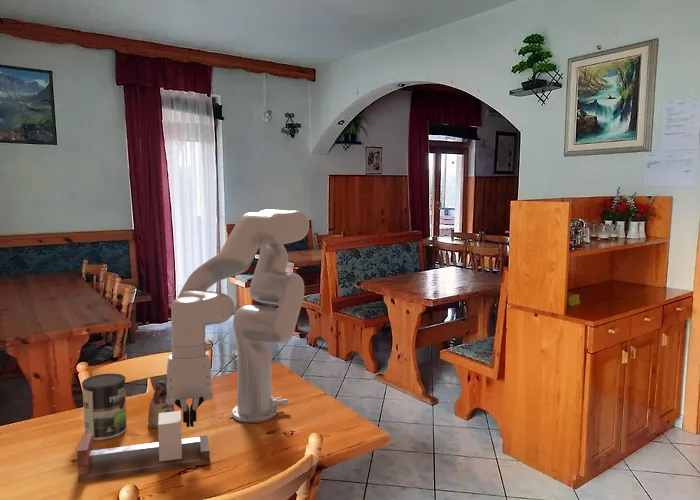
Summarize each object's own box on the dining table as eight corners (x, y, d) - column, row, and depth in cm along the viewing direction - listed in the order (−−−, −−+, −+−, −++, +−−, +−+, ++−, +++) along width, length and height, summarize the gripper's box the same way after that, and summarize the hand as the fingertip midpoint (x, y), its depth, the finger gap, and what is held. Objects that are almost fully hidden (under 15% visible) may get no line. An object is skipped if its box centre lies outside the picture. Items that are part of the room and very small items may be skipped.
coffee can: (135, 424, 144) (133, 374, 142) (110, 442, 134) (108, 389, 132) (101, 420, 146) (99, 371, 144) (75, 438, 136) (72, 385, 134)
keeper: (181, 445, 130) (180, 410, 129) (181, 458, 124) (181, 422, 123) (159, 448, 128) (158, 413, 127) (159, 461, 122) (158, 424, 121)
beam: (199, 448, 129) (199, 436, 129) (200, 453, 127) (200, 441, 127) (91, 463, 122) (90, 450, 121) (89, 468, 120) (89, 455, 119)
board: (207, 445, 133) (207, 419, 132) (210, 463, 125) (209, 435, 124) (84, 462, 124) (83, 433, 124) (77, 482, 116) (76, 452, 115)
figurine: (181, 419, 148) (180, 378, 146) (165, 430, 141) (164, 387, 139) (159, 415, 150) (158, 374, 148) (142, 426, 143) (141, 383, 142)
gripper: (219, 343, 130) (220, 414, 133) (155, 347, 126) (156, 422, 128) (223, 352, 123) (223, 427, 125) (154, 357, 118) (156, 435, 121)
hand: (189, 424), depth 127 cm, fingers closed
